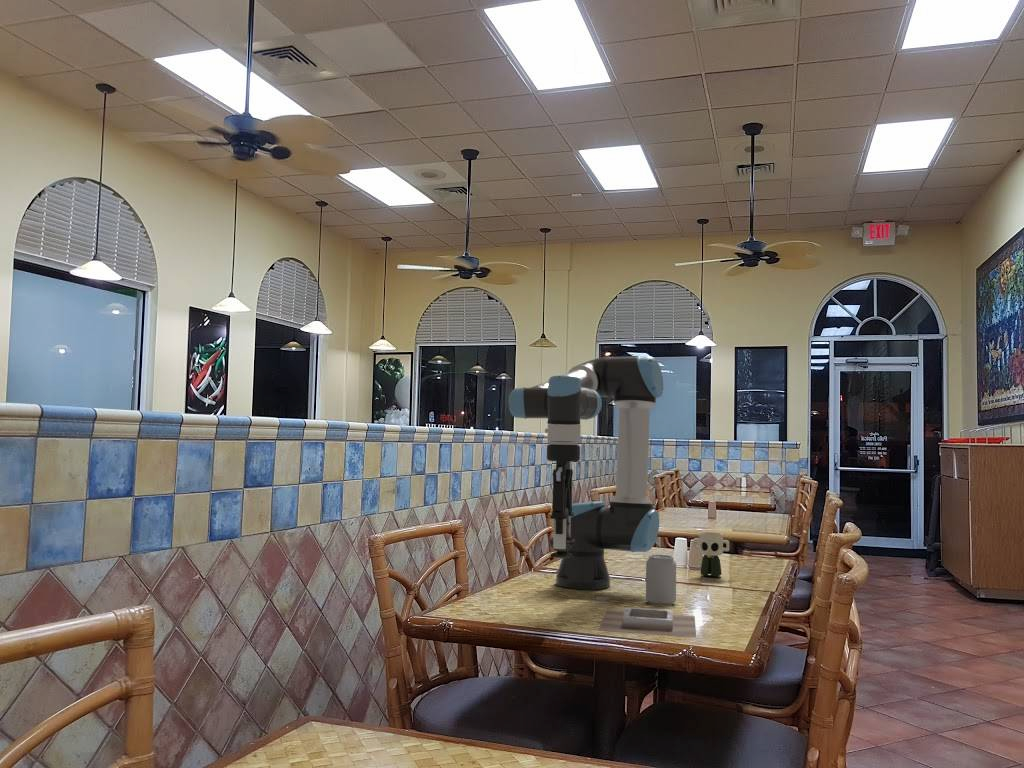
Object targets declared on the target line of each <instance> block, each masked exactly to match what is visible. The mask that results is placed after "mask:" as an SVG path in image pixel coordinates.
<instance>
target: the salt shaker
mask: <svg viewBox="0 0 1024 768" xmlns="http://www.w3.org/2000/svg"><path fill="white" fill-rule="evenodd" d="M565 516H566V518H565V519H566V549H553V537H552V538H549V539H548V541H549V544H550V545H549V546H550V547H551V549H552V550H553V551H555V552H552V553H551V554H550V555H549V557H551V558H557V559H559V558H560V559H562V558H570V557H573V555H572V554H570V553H567V551H570V550H571V549H572V547H573V542H574V541H575V540H574V539H571V538H570V536H569V524H570V523H569V522H568V521H569V510H568V508H566V511H565Z"/></svg>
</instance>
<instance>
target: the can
mask: <svg viewBox="0 0 1024 768" xmlns="http://www.w3.org/2000/svg"><path fill="white" fill-rule="evenodd" d="M674 558H675V557H674V556H673V555H668V554H649V555H648V559H647V560H646V561H645V600H646V601H647V602H648V604H650V605H654V606H667V607H671V606H673V605H674V603H676V602H677V562H676V561H675V560H674Z"/></svg>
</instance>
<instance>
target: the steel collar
mask: <svg viewBox="0 0 1024 768" xmlns="http://www.w3.org/2000/svg"><path fill="white" fill-rule="evenodd" d="M624 612H625V613H624V616H623V627H635V628H649V629H664V630H673V615H674V610H673V609H661V608H644V607H629V606H627V607H625V611H624Z"/></svg>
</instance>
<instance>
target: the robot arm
mask: <svg viewBox="0 0 1024 768" xmlns="http://www.w3.org/2000/svg"><path fill="white" fill-rule="evenodd" d="M663 391H664V377H663V372H662V367H661V365H660V364H659V362H658V360H657V359H656V358H655V357H653V356H650V355H649V356H648V355H629V356H628V355H626V356H603V357H599V358H598V357H597V358H594V359H591V360H589V361H585V362H582V363H580V364H577V365H575V366H573V367H571V368H570V369H569V370H568V372H567V373H565V374H562V375H552V376H550V377H549V379H548V381H545V382H543V383H540V384H537V385H535V386H531V387H525V386H524V387H518V388H517V387H516V388H514V389H512V390H511V392H510V394H509V397H508V409H509V411H510V414H511V416H512V417H514V418H517V419H524V420H525V419H547V421H546V423H547V428H545V429H544V432H545V434H546V433H547V435H546V436H547V440H546V441H547V442H549V444H547V446H546V460H547V461H550V462H556V463H555V468H554V469H553V470H552V475H551V476H552V507H551V508H552V510H551V515H550V516H549V517H550V519H551V520H553V536H552V538H553V549H566V519H565V518H566V516H565V511H566V508H568V510H569V521H568V522H569V523H570V524H569V536H570V538H571V539H574V540H575V541H574V542H573V547H572V549H571V550H570V551H567V553H570V554H572V555H573V557H570V558H561V561H560V563H559V567H558V570H557V573H556V577H555V584H556V586H559V587H562V588H566V589H573V590H602V589H607V588H609V587H610V585H611V578H610V573H609V571H608V566H607V563H606V561H605V550H613V551H620V552H621V551H622V552H631V553H646V552H649V551H651V550H652V548H653V547H654V545H655V543H656V541H657V538H658V535H659V530H660V529H659V528H660V514H659V512H658V511H657V510H656V509H654V508H653V501H651V500H650V498H649V497H648V483H649V482H648V481H649V480H648V479H649V451H650V450H649V447H650V421H651V420H650V419H651V418H650V415H651V412H650V411H651V410H652V409H653V407H655V405H656V404H657V403H656V402H657V399H659V398H661V397H662V395H663V393H664V392H663ZM602 398H613V404H614V405H615V406H616V407H617V408H618V425H617V426H618V427H617V434H618V435H617V451H616V452H617V453H616V454H617V455H616V456H617V458H616V459H617V460H616V482H615V483H616V485H615V495H614V496H613V497H612V498H611V499H610V501H609V506H606V503H605V501H597V500H596V501H589V502H588V501H587V502H576V503H573V474H574V471H573V470H574V469H573V468H572V469H571V462H579V461H580V460H581V455H580V454H581V446H580V445H579V444H578V443H580V442H581V428H582V425H581V420H585V421H587V420H589V419H594V418H596V417H597V416H598V415H599V414H600V412H601V410H602V406H603V401H602ZM550 519H549V520H550ZM553 549H552V550H553Z"/></svg>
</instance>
